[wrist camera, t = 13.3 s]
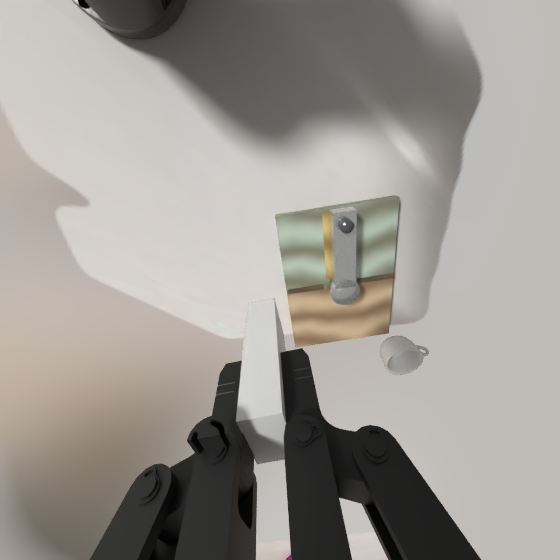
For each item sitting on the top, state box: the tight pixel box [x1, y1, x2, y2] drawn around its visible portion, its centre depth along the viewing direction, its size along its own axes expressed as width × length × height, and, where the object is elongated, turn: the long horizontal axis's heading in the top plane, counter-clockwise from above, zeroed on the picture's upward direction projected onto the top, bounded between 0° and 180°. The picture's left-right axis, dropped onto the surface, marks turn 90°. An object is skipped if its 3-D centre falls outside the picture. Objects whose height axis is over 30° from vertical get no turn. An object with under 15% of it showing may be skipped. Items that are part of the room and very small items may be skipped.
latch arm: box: [328, 207, 360, 305], centre depth 40 cm, size 16×5×4 cm, turn 7°
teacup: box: [380, 336, 428, 375], centre depth 53 cm, size 10×8×5 cm
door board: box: [275, 196, 400, 347], centre depth 46 cm, size 28×20×2 cm
